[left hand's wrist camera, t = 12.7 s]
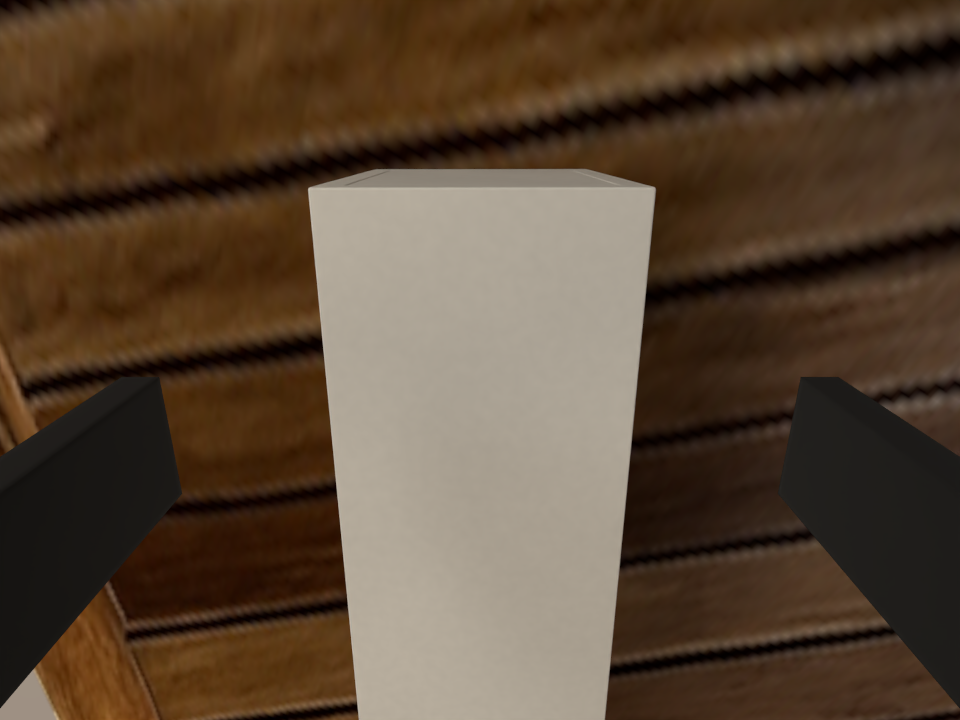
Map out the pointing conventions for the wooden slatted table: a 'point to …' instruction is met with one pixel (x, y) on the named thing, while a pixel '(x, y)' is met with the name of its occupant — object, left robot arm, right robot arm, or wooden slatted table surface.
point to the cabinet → (481, 430)
